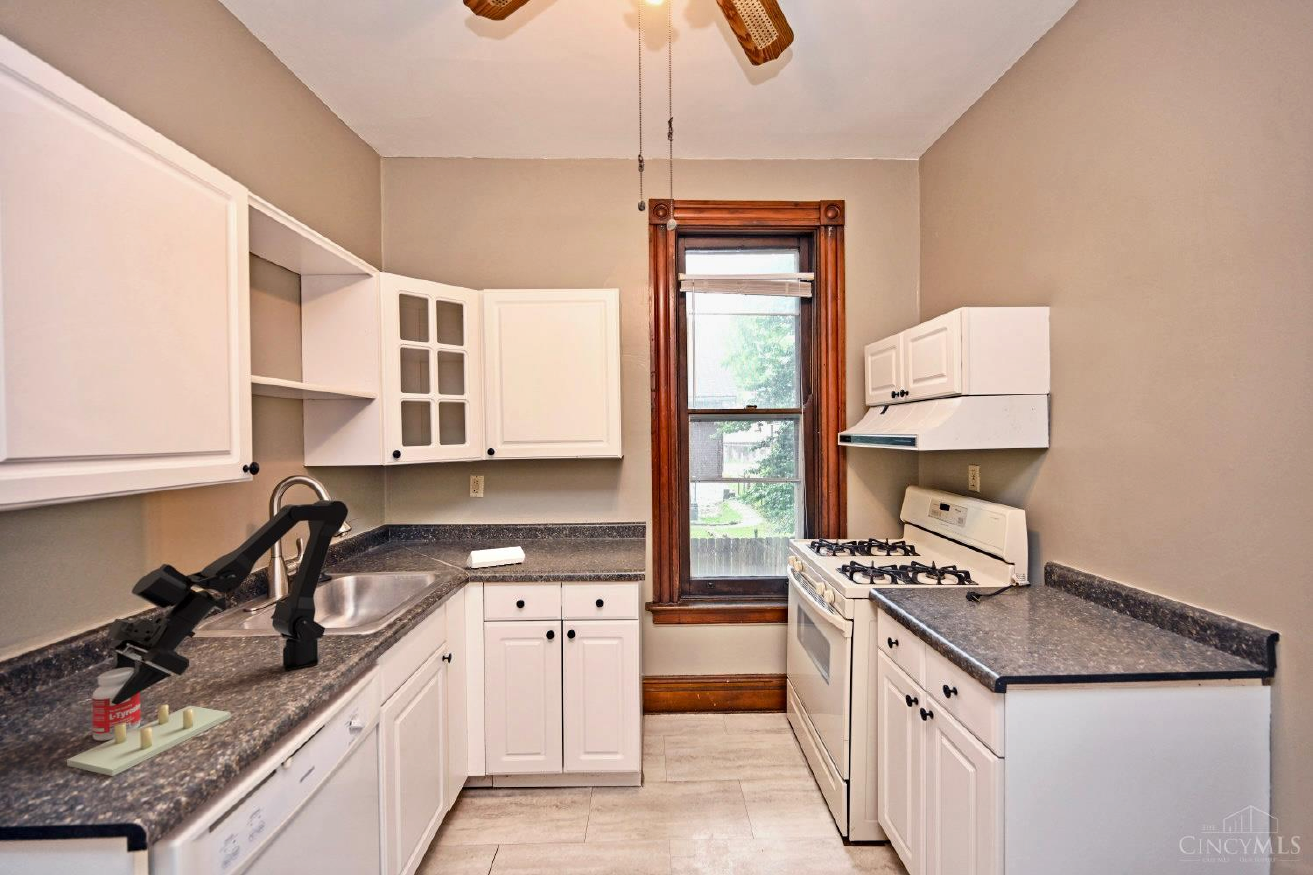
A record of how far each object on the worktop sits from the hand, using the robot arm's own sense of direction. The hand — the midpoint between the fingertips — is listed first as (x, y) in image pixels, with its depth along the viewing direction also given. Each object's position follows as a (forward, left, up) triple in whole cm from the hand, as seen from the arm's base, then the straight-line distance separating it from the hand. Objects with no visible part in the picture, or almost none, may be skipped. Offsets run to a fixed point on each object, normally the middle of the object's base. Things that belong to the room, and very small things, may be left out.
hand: (106, 699), depth 95 cm
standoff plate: (-8, +6, -7) cm, 12 cm away
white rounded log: (-90, -94, -7) cm, 130 cm away
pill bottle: (-1, -1, -7) cm, 7 cm away
